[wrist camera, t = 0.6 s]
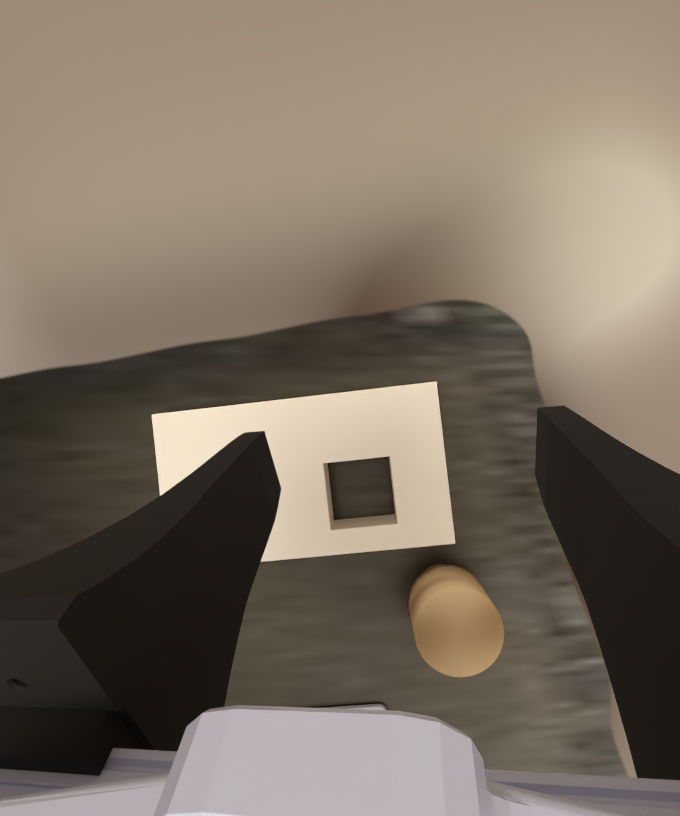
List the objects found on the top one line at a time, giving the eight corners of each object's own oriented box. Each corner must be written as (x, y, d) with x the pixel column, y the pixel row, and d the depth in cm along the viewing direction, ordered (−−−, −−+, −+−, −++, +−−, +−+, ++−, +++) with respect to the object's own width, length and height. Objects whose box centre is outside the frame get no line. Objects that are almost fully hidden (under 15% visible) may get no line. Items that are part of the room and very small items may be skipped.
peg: (480, 620, 34) (510, 674, 27) (408, 626, 34) (418, 681, 27) (472, 548, 34) (499, 583, 27) (400, 554, 34) (408, 591, 27)
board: (447, 532, 34) (455, 543, 31) (185, 557, 35) (168, 570, 32) (430, 384, 34) (436, 381, 31) (170, 414, 35) (151, 414, 32)
